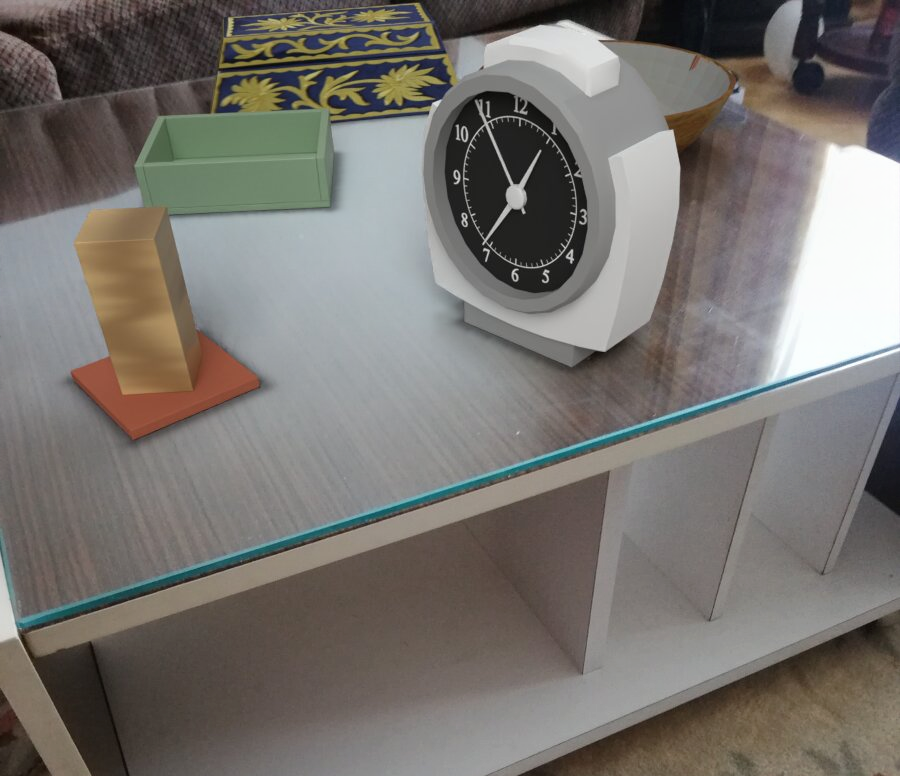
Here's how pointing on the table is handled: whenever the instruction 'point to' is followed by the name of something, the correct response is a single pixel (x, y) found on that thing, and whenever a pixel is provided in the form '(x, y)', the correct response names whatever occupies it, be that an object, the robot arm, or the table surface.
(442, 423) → the table surface
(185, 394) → the mat
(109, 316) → the block
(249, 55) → the decorative box
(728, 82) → the bowl
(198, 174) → the bin
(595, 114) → the alarm clock
